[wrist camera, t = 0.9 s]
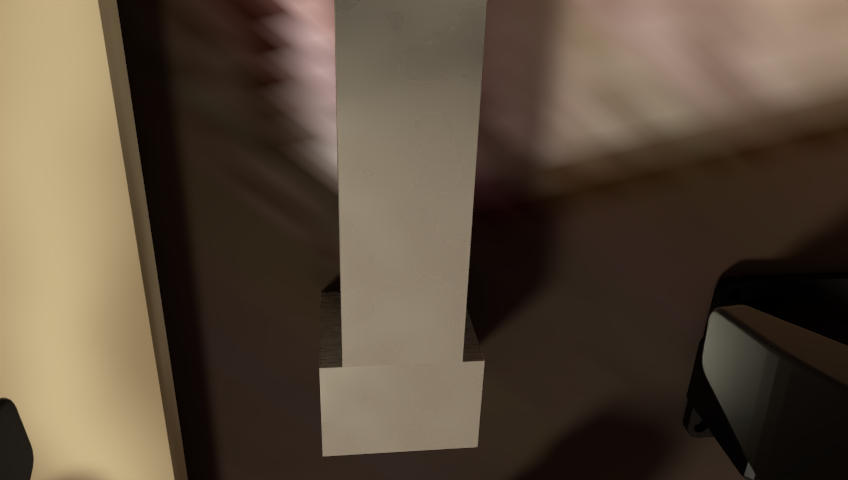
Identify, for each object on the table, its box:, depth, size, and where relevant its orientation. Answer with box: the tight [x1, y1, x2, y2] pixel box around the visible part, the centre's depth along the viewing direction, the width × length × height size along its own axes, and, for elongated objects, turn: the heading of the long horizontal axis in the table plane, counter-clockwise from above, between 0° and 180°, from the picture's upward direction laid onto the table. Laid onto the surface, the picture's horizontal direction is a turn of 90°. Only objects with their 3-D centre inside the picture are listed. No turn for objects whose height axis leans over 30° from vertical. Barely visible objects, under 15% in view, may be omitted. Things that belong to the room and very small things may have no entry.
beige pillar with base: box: [319, 0, 487, 456], centre depth 18 cm, size 4×16×4 cm, turn 178°
